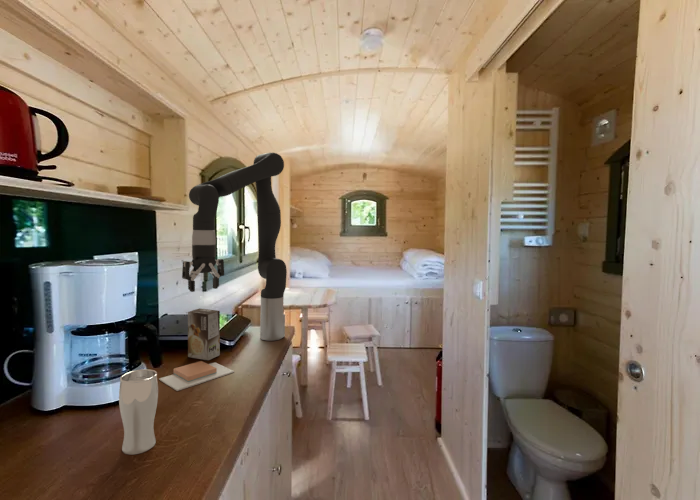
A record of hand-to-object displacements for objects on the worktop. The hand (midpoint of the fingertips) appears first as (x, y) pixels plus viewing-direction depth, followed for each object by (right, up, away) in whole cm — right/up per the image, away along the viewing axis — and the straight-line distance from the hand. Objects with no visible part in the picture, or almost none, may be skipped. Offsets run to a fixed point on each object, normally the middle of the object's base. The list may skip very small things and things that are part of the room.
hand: (204, 289), depth 127 cm
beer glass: (+7, -27, -51) cm, 58 cm away
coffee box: (-1, -24, +1) cm, 24 cm away
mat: (+4, -25, -15) cm, 29 cm away
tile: (0, -23, -12) cm, 26 cm away
